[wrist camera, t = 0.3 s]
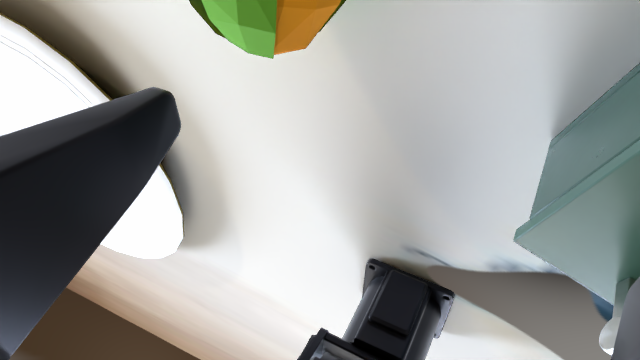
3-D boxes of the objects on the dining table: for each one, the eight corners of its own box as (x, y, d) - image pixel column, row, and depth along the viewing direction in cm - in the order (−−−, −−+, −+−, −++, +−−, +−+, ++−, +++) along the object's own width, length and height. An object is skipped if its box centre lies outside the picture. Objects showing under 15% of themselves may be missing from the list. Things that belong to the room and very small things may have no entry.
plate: (-92, -106, 33) (-120, -96, 32) (244, 184, 38) (230, 202, 37) (-58, 108, 56) (-74, 118, 54) (149, 272, 60) (139, 285, 59)
